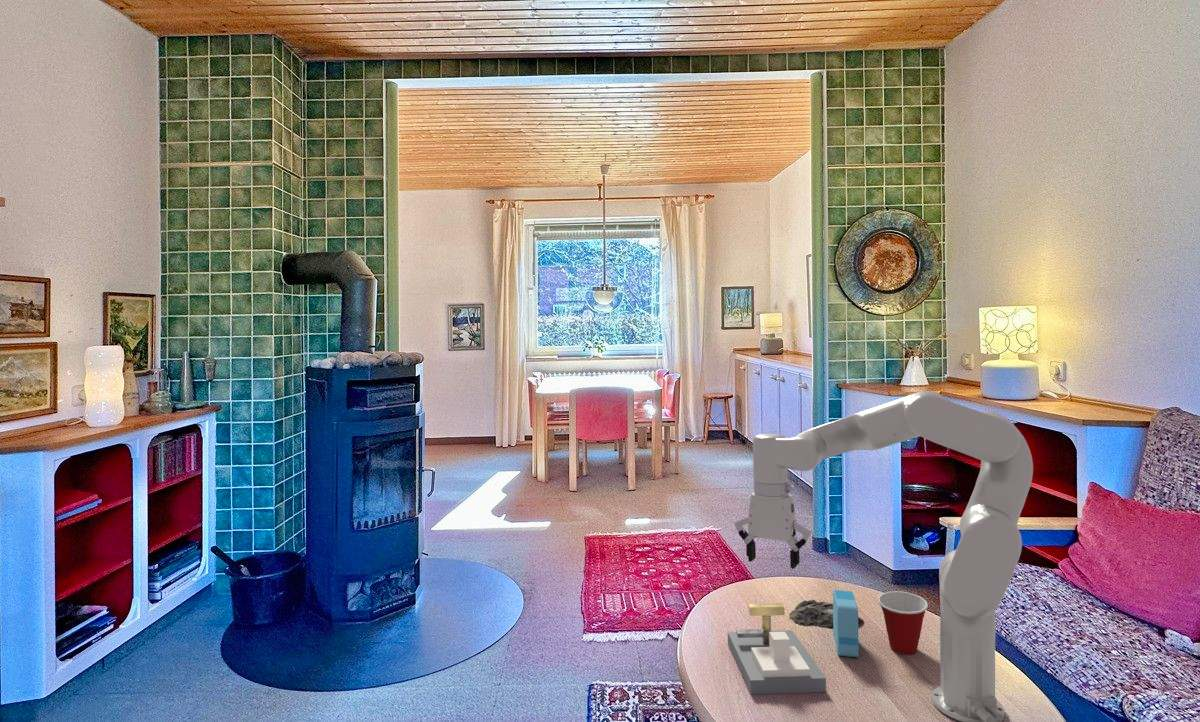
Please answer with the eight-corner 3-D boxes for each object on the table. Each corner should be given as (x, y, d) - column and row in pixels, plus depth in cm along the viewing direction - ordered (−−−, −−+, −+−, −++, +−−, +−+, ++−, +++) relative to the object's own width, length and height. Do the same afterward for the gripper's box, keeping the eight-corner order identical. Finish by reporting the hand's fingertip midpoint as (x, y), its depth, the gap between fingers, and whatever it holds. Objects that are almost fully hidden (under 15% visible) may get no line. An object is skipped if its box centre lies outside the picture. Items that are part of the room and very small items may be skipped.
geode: (785, 603, 178) (791, 627, 163) (784, 590, 177) (791, 612, 163) (855, 608, 174) (868, 633, 159) (855, 594, 174) (868, 618, 159)
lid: (810, 676, 133) (809, 646, 133) (763, 677, 133) (763, 647, 133) (794, 652, 143) (794, 624, 143) (751, 653, 143) (750, 626, 143)
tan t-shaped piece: (738, 644, 147) (737, 607, 147) (736, 640, 149) (735, 604, 149) (784, 643, 147) (784, 606, 147) (782, 639, 149) (782, 603, 149)
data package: (858, 660, 145) (858, 609, 144) (838, 658, 146) (837, 607, 146) (852, 636, 156) (851, 589, 156) (833, 634, 158) (832, 587, 157)
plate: (825, 692, 132) (825, 678, 132) (750, 694, 132) (750, 680, 132) (792, 642, 154) (792, 630, 154) (727, 643, 154) (727, 631, 154)
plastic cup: (869, 647, 151) (868, 598, 150) (892, 634, 157) (892, 587, 157) (914, 665, 142) (914, 613, 141) (936, 650, 148) (936, 601, 148)
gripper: (814, 488, 140) (815, 564, 140) (740, 481, 149) (741, 552, 150) (805, 496, 134) (807, 575, 134) (728, 488, 143) (730, 562, 143)
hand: (772, 563), depth 142 cm, fingers open, 9 cm apart
